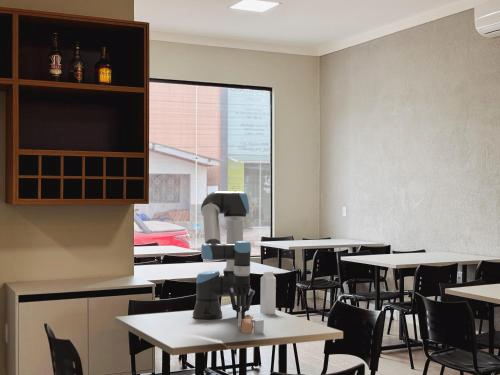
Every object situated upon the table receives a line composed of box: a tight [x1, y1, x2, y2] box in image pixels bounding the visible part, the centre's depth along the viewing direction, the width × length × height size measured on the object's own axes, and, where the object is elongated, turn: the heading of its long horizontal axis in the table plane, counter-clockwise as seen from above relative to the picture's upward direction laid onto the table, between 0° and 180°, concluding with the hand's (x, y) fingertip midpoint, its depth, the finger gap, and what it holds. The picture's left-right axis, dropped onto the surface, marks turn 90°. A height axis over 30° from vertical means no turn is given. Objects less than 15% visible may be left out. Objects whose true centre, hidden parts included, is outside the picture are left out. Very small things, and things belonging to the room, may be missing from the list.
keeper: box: [251, 317, 265, 335], centre depth 315 cm, size 5×5×6 cm
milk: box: [259, 271, 277, 315], centre depth 370 cm, size 6×6×22 cm
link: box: [241, 314, 254, 334], centre depth 322 cm, size 18×5×4 cm, turn 178°
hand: (240, 326), depth 321 cm, fingers closed
